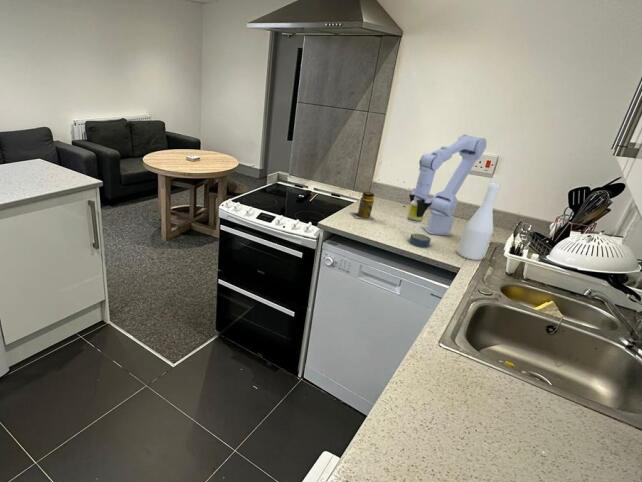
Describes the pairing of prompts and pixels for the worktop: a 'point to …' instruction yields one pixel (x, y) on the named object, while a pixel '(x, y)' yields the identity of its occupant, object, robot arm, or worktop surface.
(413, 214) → the pill bottle
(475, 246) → the wine bottle
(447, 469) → the worktop surface
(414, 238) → the tin
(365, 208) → the condiment
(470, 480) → the worktop surface
